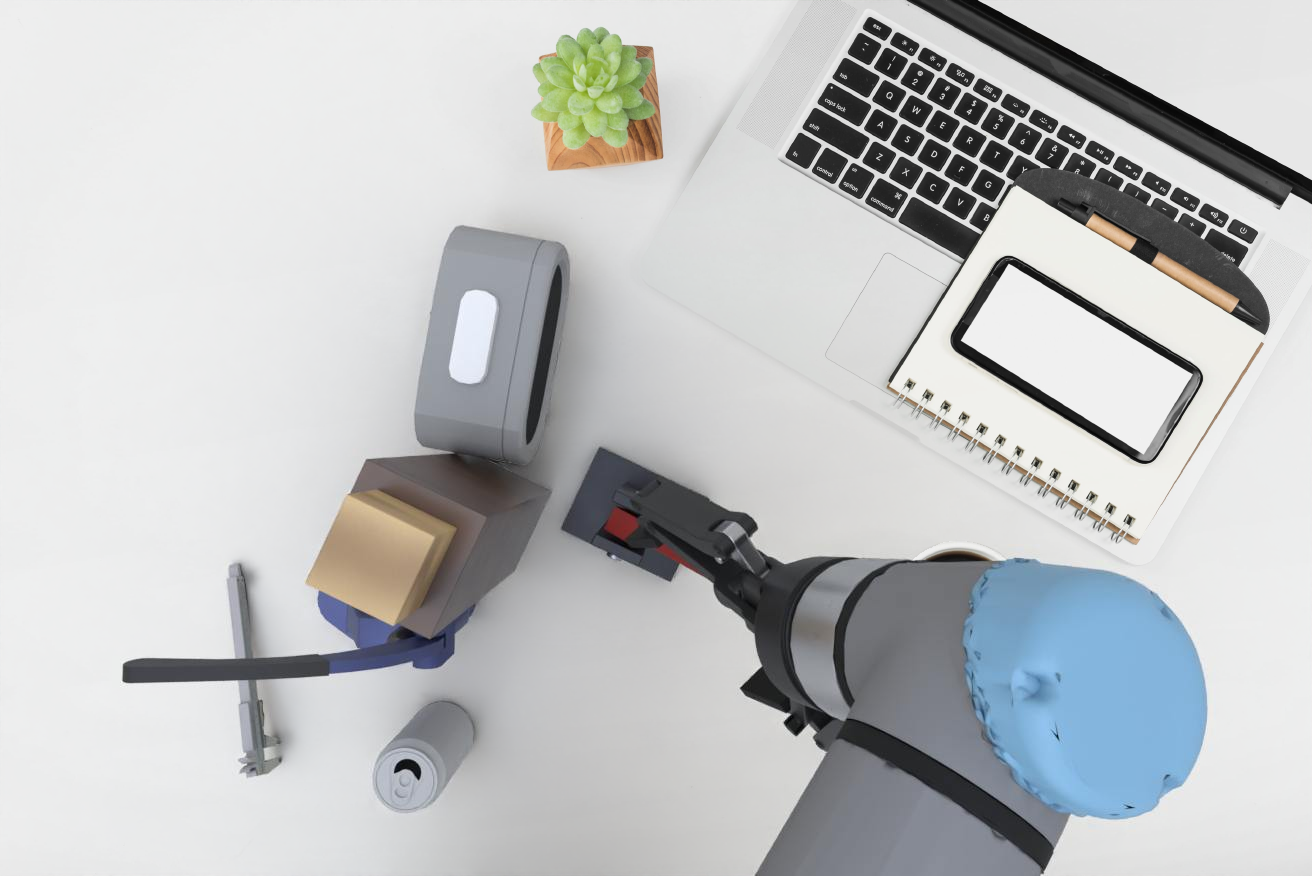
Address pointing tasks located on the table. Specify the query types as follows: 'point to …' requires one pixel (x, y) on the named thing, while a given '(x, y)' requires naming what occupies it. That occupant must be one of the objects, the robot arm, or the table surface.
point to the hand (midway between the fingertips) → (699, 605)
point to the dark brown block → (461, 524)
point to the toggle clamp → (595, 502)
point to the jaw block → (381, 555)
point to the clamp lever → (625, 524)
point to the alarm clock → (492, 345)
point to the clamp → (369, 634)
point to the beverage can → (423, 757)
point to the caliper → (248, 685)
